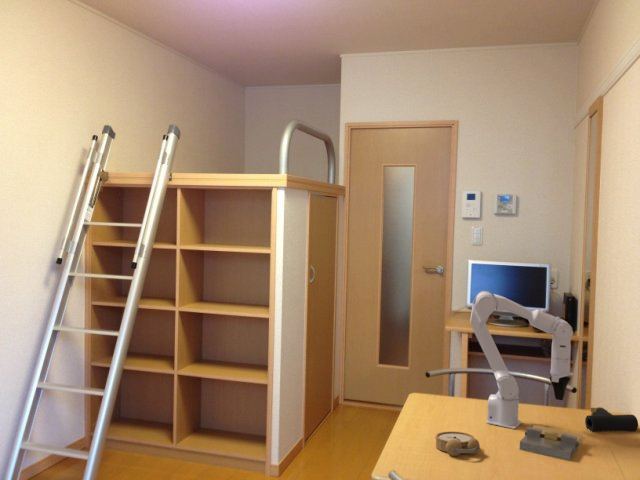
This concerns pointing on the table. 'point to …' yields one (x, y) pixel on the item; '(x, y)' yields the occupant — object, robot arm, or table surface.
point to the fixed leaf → (549, 444)
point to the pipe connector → (610, 421)
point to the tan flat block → (557, 434)
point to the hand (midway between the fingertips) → (559, 399)
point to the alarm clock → (457, 443)
